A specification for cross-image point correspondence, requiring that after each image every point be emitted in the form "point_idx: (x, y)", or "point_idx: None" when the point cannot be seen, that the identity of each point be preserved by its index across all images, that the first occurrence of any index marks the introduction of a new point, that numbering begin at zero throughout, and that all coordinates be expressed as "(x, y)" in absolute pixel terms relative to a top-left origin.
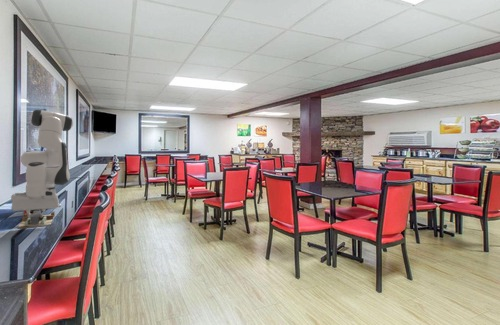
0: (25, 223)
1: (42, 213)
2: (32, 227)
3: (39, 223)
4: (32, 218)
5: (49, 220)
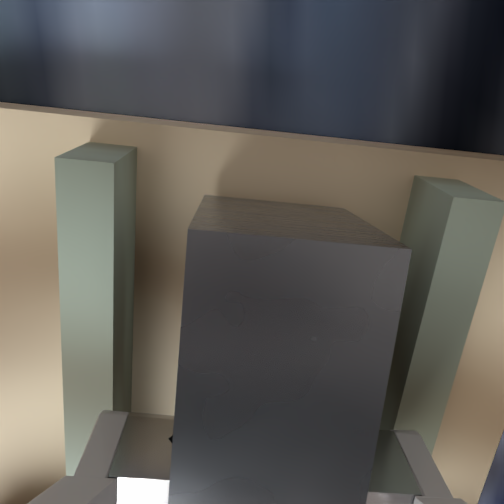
0: (478, 190)
1: (70, 493)
2: (314, 135)
3: None
4: (359, 233)
5: (30, 439)
